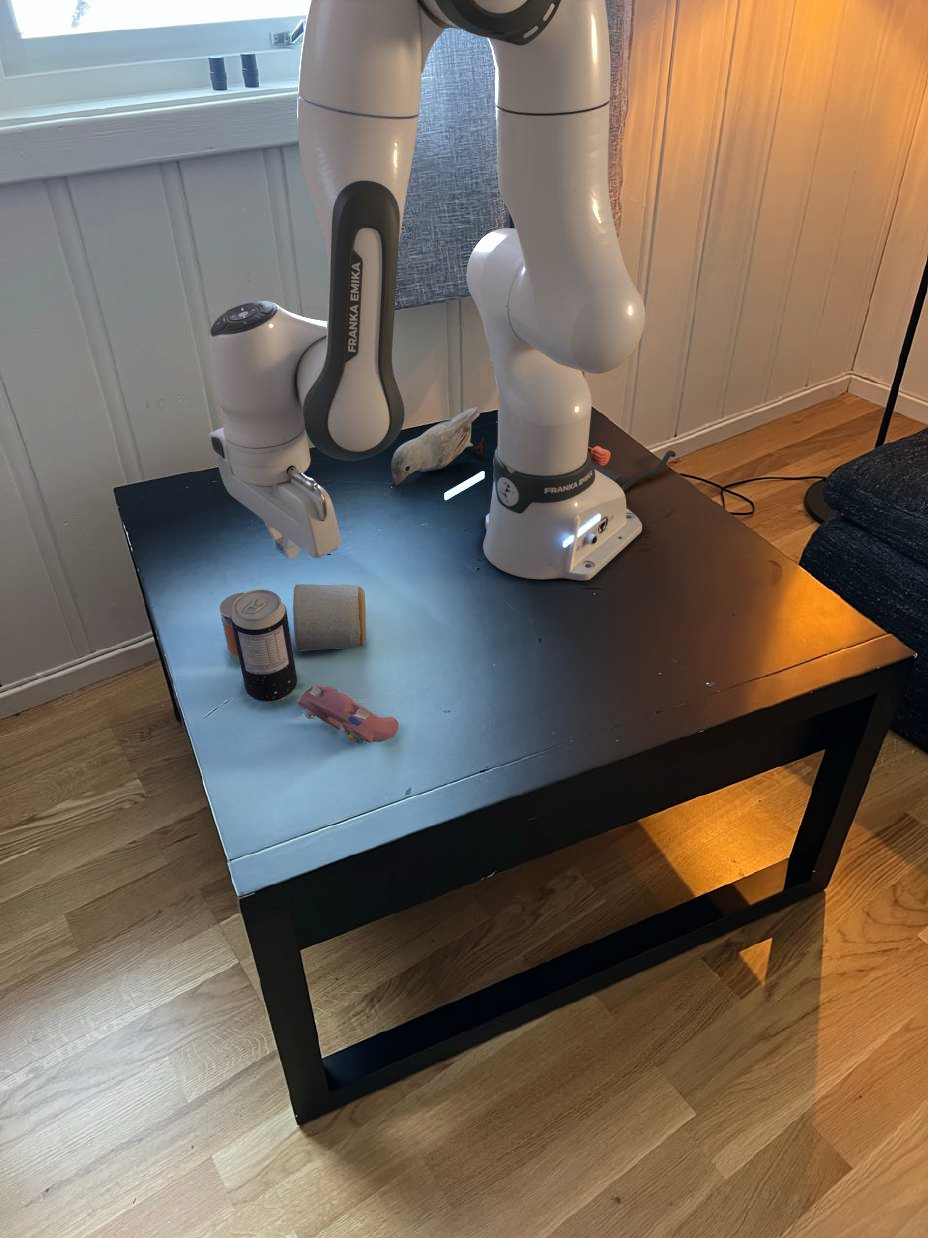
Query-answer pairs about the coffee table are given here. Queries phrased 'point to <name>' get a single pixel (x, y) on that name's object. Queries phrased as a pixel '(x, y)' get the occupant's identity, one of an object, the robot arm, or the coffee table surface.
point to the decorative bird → (435, 446)
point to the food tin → (229, 626)
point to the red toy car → (347, 715)
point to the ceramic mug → (328, 616)
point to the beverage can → (264, 645)
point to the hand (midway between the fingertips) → (287, 552)
